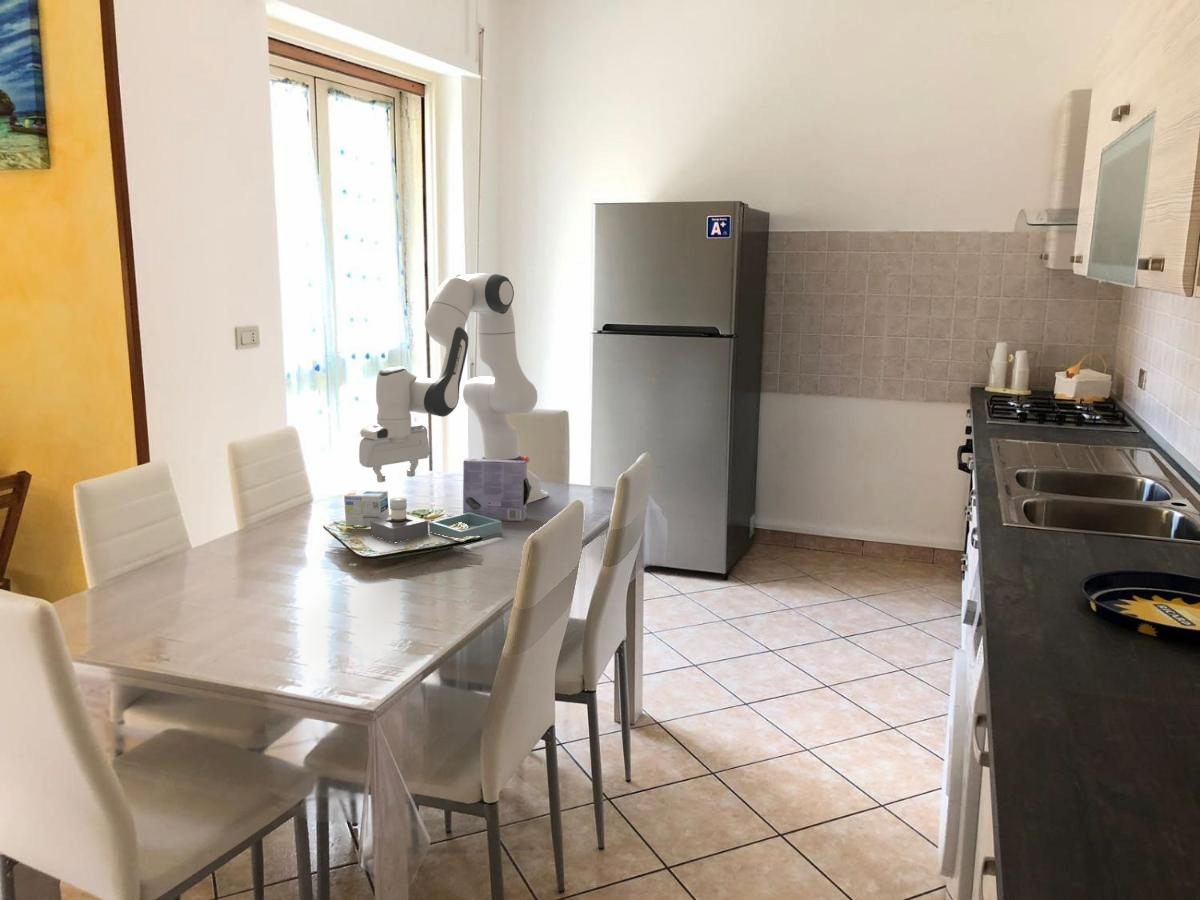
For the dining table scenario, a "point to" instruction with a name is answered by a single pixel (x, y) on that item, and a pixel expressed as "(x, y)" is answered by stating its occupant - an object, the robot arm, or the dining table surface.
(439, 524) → the parts tray
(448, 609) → the dining table surface
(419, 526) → the bulb socket block
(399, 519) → the white light bulb
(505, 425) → the robot arm
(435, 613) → the dining table surface
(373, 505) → the light bulb box
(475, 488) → the cake pan box
